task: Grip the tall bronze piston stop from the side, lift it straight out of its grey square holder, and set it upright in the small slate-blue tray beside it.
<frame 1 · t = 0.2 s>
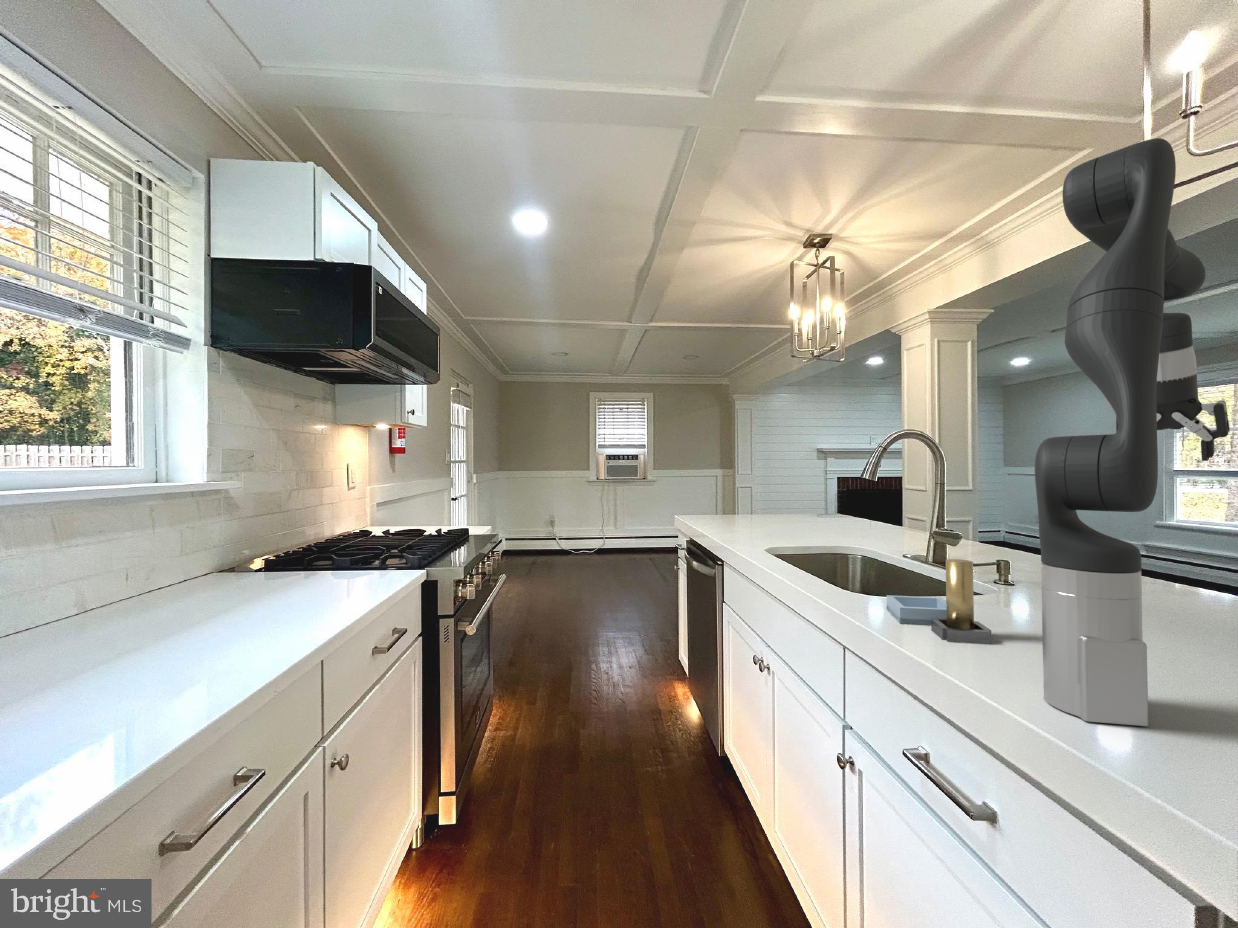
hand: (1171, 459, 99), 30 cm above the counter, tool tilted 20°, fingers open, 8 cm apart
grey square holder: (960, 636, 93), on the counter
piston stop: (959, 598, 93), in the grey square holder
tray: (921, 617, 104), on the counter
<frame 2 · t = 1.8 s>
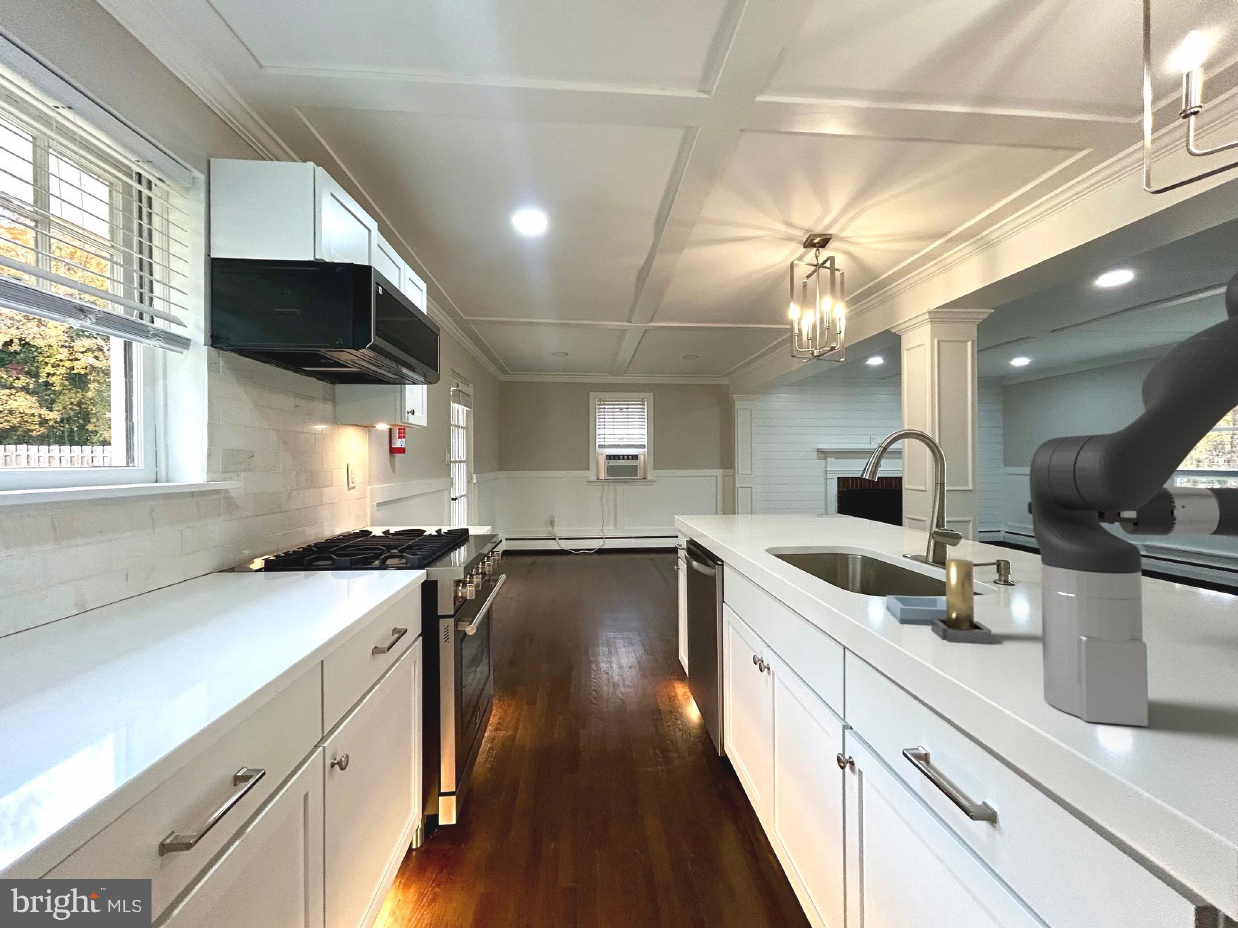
hand: (1036, 509, 89), 22 cm above the counter, tool horizontal, fingers open, 8 cm apart
nothing on the counter moved.
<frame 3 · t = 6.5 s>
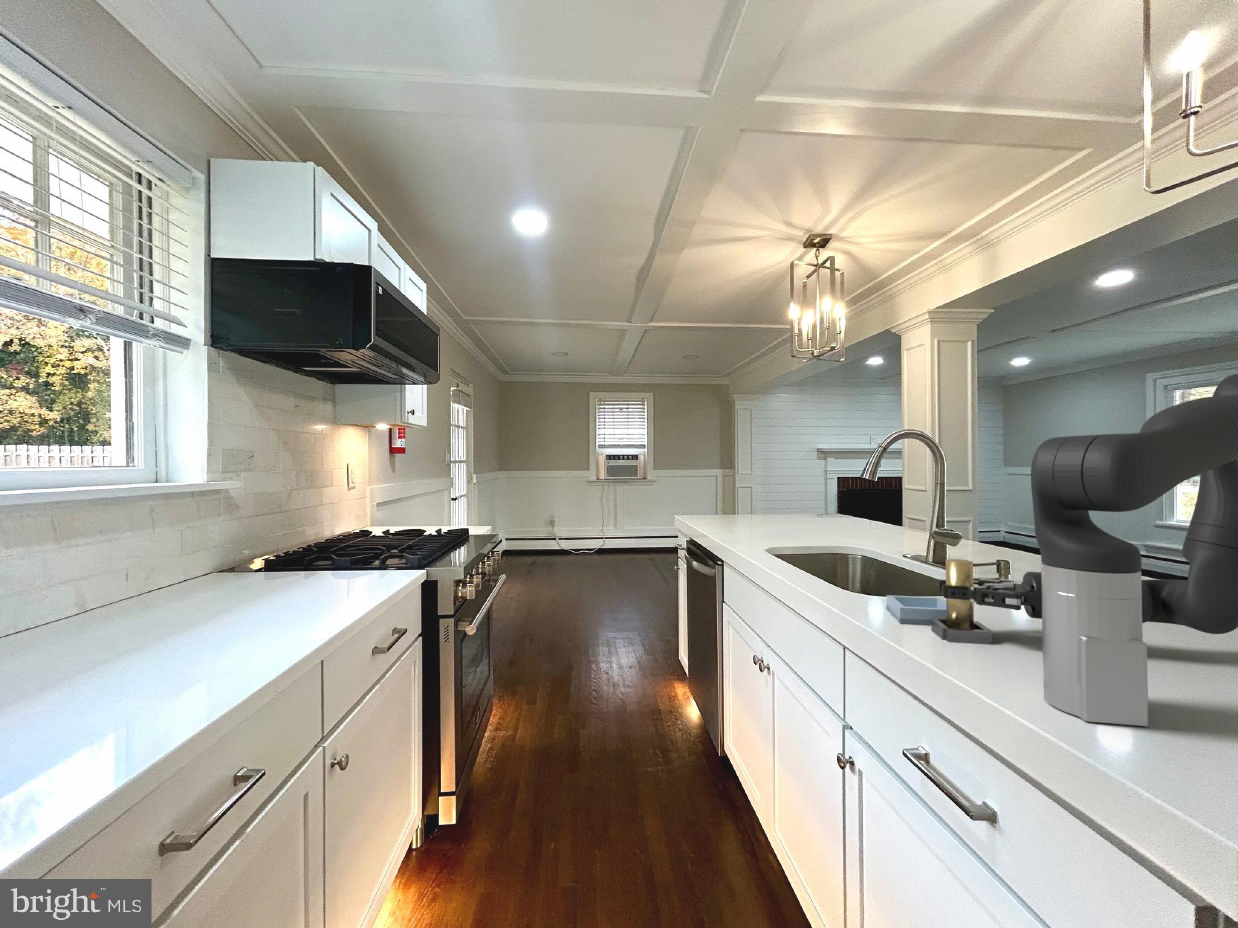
hand: (941, 588, 94), 8 cm above the counter, tool horizontal, fingers closed on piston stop, 4 cm apart
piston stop: (959, 598, 93), in the grey square holder, touching gripper
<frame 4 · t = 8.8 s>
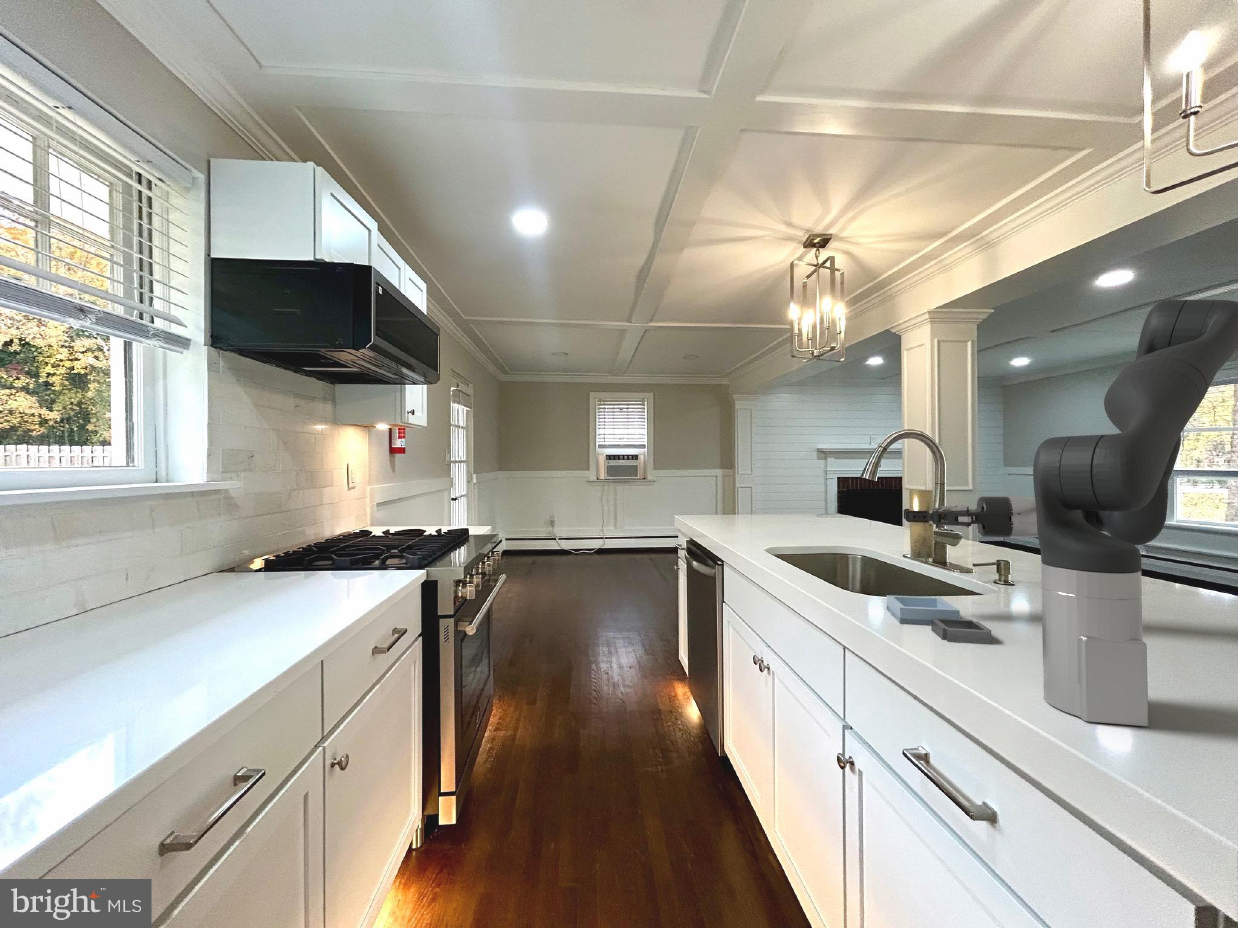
hand: (905, 515, 106), 20 cm above the counter, tool horizontal, fingers closed on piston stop, 4 cm apart
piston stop: (921, 523, 104), point 18 cm above the counter, touching gripper
when the fingers open (10 cm above the counter, at t = 11.0 s): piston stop stays where it is, resting on tray.
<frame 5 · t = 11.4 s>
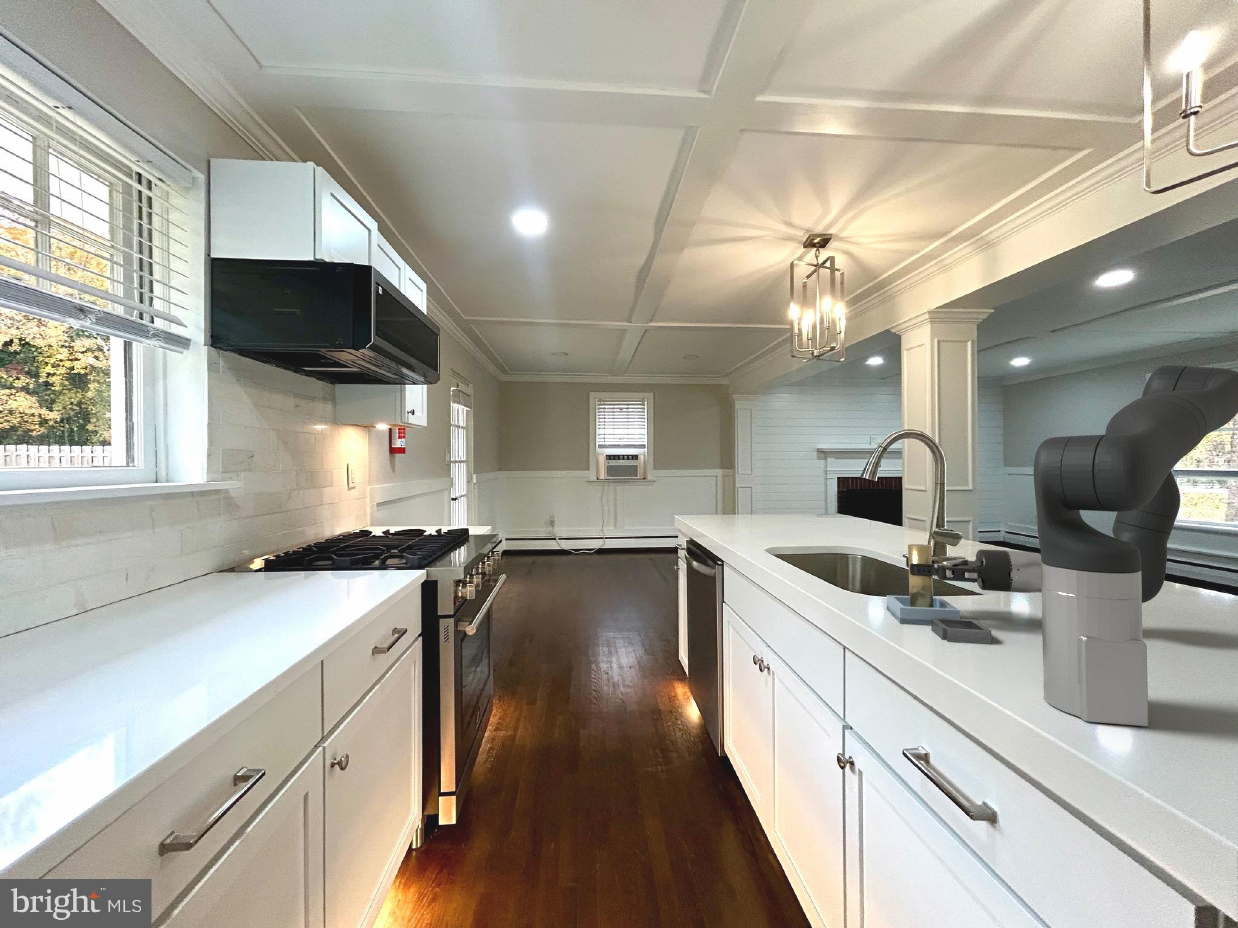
hand: (908, 565, 105), 10 cm above the counter, tool horizontal, fingers open, 7 cm apart
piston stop: (920, 578, 104), in the tray, point 8 cm above the counter
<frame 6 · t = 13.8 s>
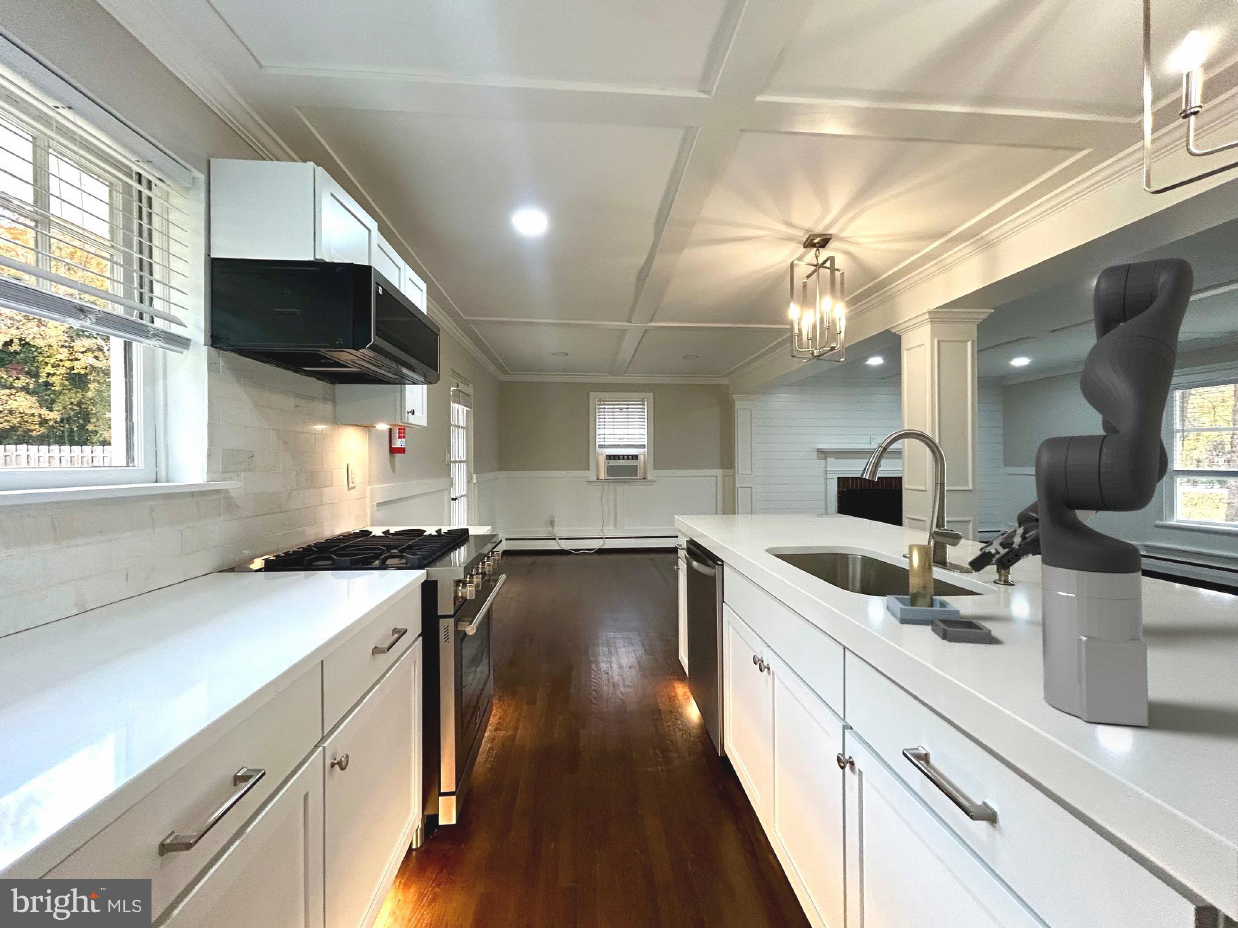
hand: (985, 567, 96), 11 cm above the counter, tool tilted 55°, fingers open, 8 cm apart
nothing on the counter moved.
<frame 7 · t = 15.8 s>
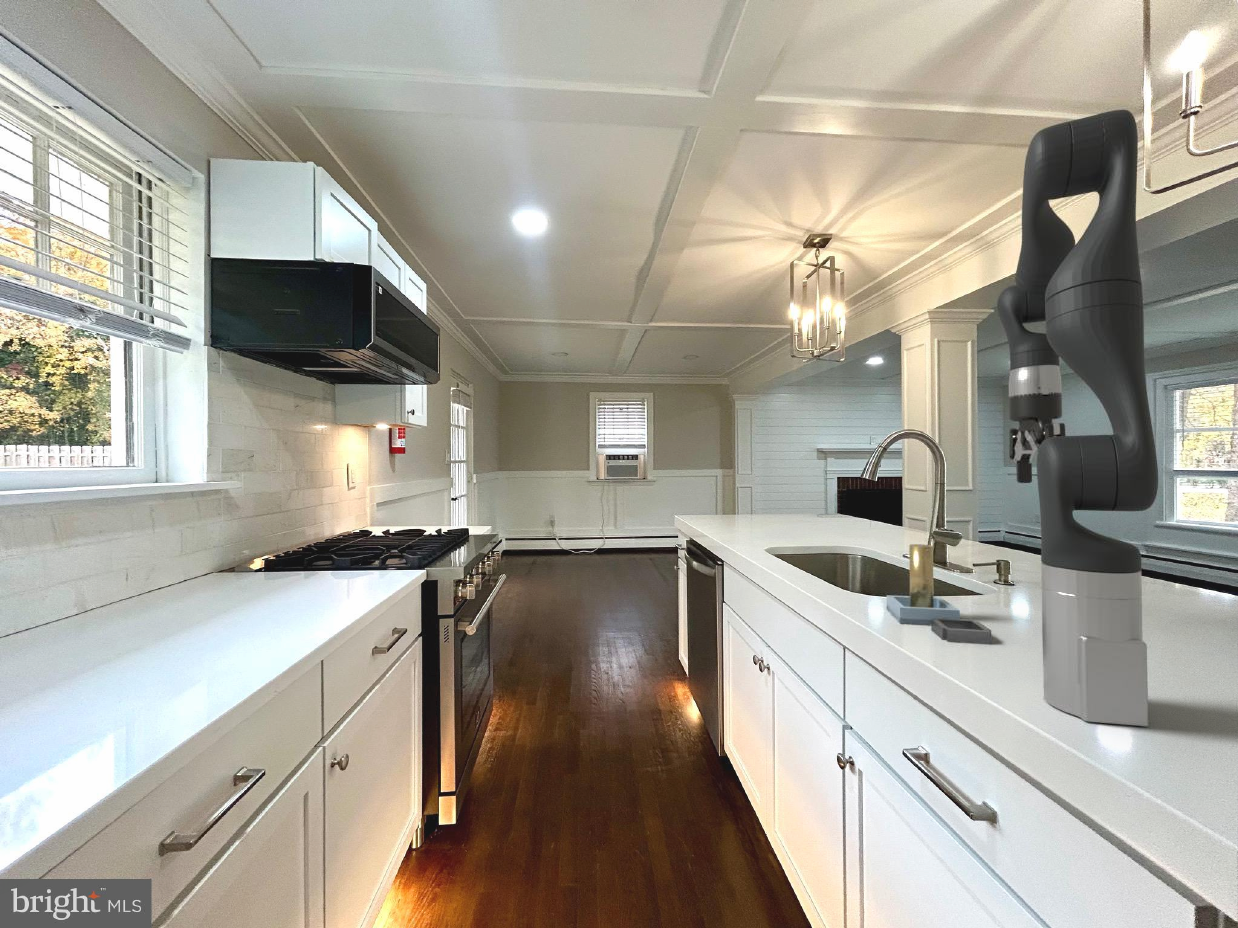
hand: (1036, 483, 96), 26 cm above the counter, tool pointing down, fingers open, 8 cm apart
nothing on the counter moved.
at the end: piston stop 0.1 cm off-centre on the tray, point 7.5 cm above the tray's base; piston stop tilted 0°; the gripper is holding nothing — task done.
